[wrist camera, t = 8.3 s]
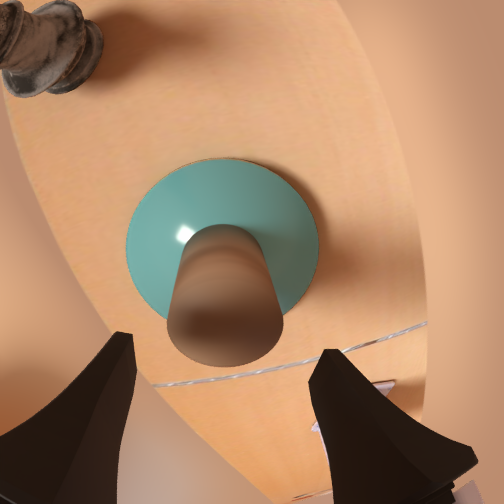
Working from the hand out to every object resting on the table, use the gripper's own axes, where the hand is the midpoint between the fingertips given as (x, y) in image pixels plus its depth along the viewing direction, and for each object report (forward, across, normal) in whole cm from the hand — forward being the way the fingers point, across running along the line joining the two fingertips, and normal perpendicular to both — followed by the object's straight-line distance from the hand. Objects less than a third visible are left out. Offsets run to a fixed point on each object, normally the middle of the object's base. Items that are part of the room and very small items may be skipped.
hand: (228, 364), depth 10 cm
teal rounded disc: (+9, 0, 0) cm, 9 cm away
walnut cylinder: (+8, 0, 0) cm, 8 cm away
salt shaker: (+9, +12, -12) cm, 20 cm away
